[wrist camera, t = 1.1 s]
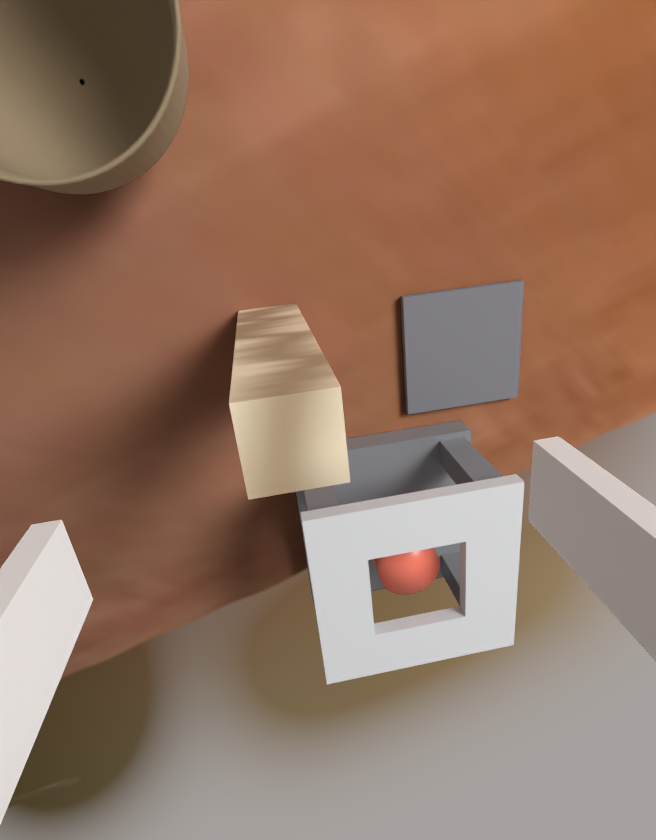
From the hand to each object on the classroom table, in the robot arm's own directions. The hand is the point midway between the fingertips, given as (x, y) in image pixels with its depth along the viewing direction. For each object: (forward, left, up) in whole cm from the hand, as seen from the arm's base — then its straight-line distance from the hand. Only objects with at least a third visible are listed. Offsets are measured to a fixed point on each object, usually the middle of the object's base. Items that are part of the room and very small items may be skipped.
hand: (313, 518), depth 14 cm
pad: (+14, -3, -23) cm, 27 cm away
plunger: (+7, -16, -20) cm, 27 cm away
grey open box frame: (+7, -16, -23) cm, 29 cm away
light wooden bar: (0, 0, -23) cm, 23 cm away
